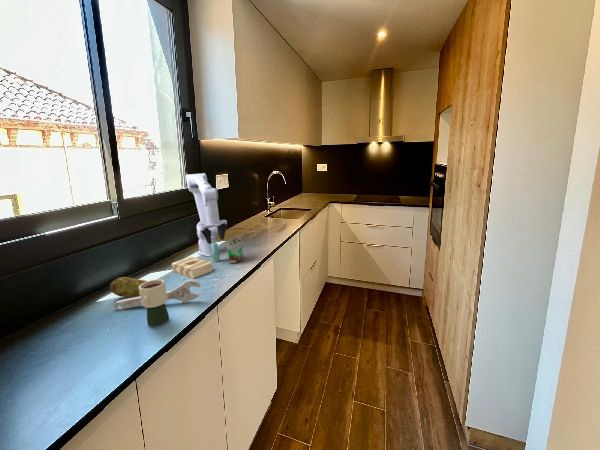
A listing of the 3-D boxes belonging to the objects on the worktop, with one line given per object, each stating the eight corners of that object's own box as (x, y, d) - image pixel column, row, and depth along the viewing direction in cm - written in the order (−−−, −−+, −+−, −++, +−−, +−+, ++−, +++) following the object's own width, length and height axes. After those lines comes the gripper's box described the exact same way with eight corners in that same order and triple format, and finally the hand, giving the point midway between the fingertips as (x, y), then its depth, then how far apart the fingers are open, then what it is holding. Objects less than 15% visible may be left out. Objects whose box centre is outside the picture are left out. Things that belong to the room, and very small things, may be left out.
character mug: (154, 314, 94) (147, 277, 91) (176, 312, 95) (170, 275, 92) (138, 333, 84) (130, 293, 81) (163, 331, 84) (155, 291, 81)
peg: (212, 261, 141) (209, 244, 139) (217, 259, 144) (214, 242, 142) (215, 262, 140) (213, 245, 138) (220, 260, 142) (218, 243, 140)
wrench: (120, 315, 101) (204, 298, 102) (117, 317, 99) (203, 300, 101) (112, 294, 99) (198, 277, 100) (109, 297, 97) (197, 279, 99)
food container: (241, 264, 135) (239, 244, 132) (229, 265, 135) (226, 245, 133) (247, 256, 147) (245, 237, 144) (235, 256, 147) (233, 238, 145)
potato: (146, 299, 105) (142, 279, 103) (109, 303, 103) (104, 283, 102) (154, 289, 113) (151, 270, 111) (120, 293, 111) (115, 274, 110)
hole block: (173, 271, 131) (171, 263, 130) (192, 264, 139) (191, 256, 138) (193, 278, 122) (191, 269, 121) (212, 270, 129) (211, 262, 129)
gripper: (204, 217, 128) (208, 246, 131) (229, 211, 139) (232, 238, 142) (195, 216, 132) (199, 244, 135) (220, 211, 143) (223, 237, 146)
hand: (215, 241), depth 139 cm, fingers open, 7 cm apart
